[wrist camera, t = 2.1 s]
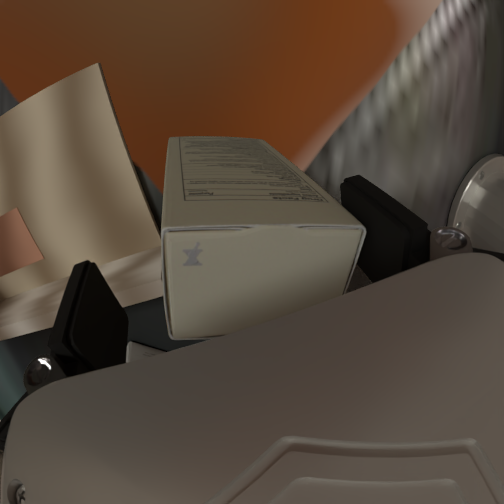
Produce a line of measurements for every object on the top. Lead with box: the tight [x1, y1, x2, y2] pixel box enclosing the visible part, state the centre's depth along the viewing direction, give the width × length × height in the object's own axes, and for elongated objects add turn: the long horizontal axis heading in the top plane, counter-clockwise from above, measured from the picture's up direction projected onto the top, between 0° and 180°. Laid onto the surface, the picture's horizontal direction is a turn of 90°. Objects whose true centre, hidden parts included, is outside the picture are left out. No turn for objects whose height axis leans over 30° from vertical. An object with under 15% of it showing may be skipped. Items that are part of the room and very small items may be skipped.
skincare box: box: [161, 136, 367, 340], centre depth 14 cm, size 6×4×12 cm
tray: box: [0, 63, 163, 341], centre depth 16 cm, size 18×14×4 cm
